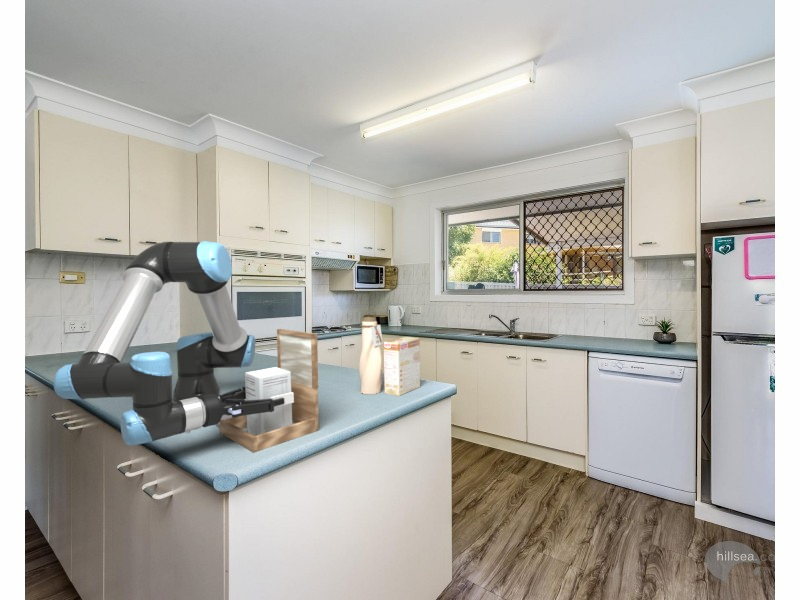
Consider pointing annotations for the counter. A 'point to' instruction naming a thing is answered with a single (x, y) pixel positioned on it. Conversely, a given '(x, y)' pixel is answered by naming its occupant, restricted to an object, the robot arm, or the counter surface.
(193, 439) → the counter surface
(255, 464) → the counter surface
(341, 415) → the counter surface
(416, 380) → the coffeecake box
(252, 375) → the supplement box
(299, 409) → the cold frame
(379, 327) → the water bottle
